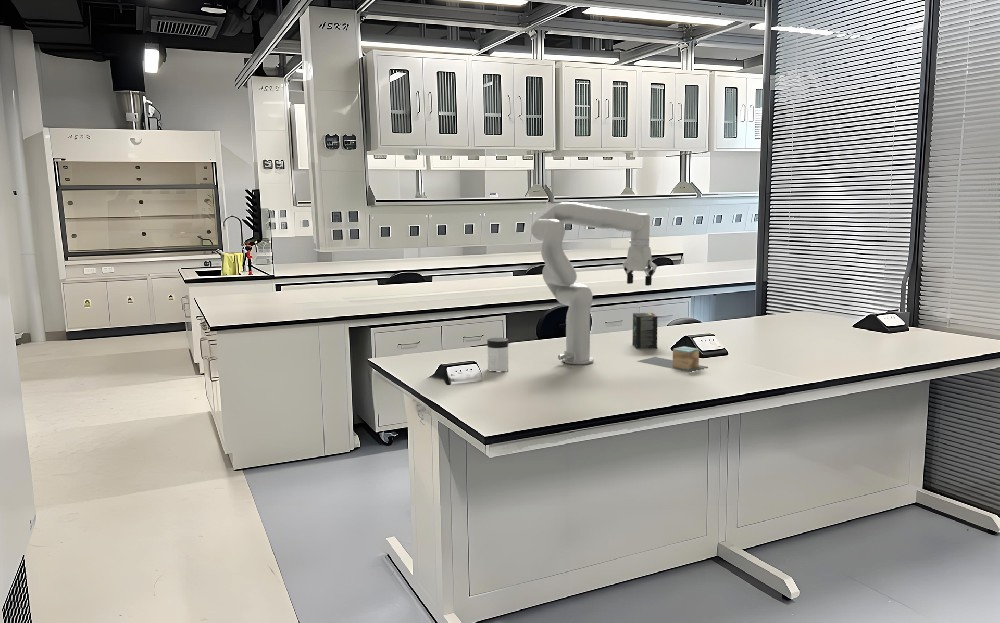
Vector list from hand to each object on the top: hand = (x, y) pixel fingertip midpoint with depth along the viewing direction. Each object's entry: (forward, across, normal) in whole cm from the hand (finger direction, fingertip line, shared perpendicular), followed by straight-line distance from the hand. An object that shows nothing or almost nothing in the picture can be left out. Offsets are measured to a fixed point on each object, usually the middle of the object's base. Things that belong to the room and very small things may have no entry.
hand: (639, 284), depth 291 cm
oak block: (+22, +29, -7) cm, 37 cm away
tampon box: (+30, -7, +14) cm, 33 cm away
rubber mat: (+30, +23, -7) cm, 38 cm away
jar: (+30, -17, -63) cm, 71 cm away
